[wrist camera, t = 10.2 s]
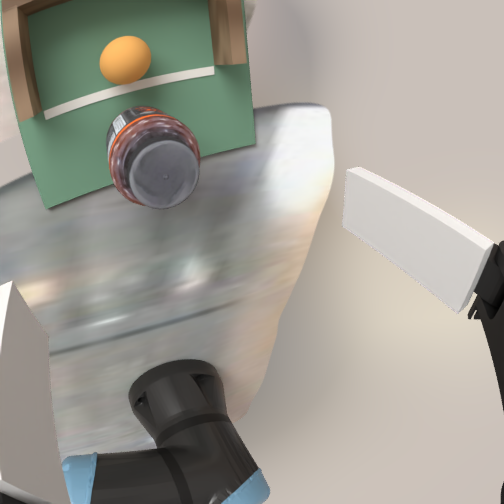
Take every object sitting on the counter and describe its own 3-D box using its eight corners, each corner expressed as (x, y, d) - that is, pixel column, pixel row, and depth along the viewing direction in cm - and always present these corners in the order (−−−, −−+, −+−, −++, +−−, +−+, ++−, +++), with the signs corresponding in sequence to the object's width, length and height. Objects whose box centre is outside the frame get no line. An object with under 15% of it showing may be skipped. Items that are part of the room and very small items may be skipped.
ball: (154, 32, 17) (152, 37, 20) (97, 36, 15) (104, 40, 18) (150, 84, 19) (149, 81, 22) (95, 88, 18) (101, 85, 21)
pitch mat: (253, 142, 30) (255, 143, 30) (46, 207, 24) (45, 209, 23) (235, -60, 17) (237, -62, 17) (0, -16, 10) (-1, -18, 10)
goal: (226, 63, 24) (246, 63, 21) (29, 115, 18) (19, 122, 16) (217, -34, 18) (236, -46, 15) (13, 9, 12) (1, 0, 10)
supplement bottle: (181, 114, 25) (234, 141, 17) (159, 176, 27) (197, 233, 19) (117, 96, 22) (132, 110, 13) (96, 163, 24) (101, 218, 15)
